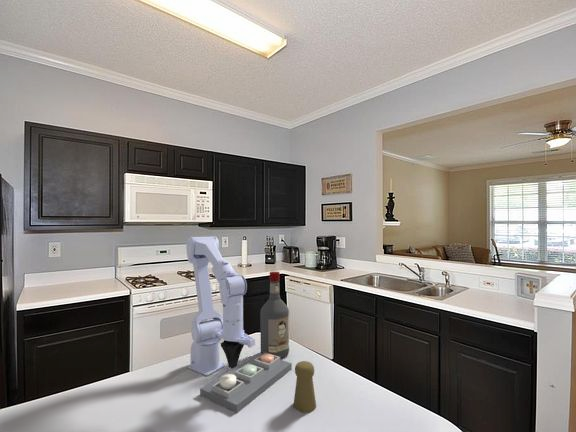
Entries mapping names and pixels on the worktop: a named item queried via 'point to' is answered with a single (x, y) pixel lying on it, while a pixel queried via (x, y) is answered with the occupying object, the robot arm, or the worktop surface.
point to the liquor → (274, 322)
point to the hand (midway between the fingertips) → (233, 366)
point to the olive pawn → (304, 387)
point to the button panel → (246, 383)
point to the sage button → (249, 370)
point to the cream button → (228, 381)
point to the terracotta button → (267, 358)
